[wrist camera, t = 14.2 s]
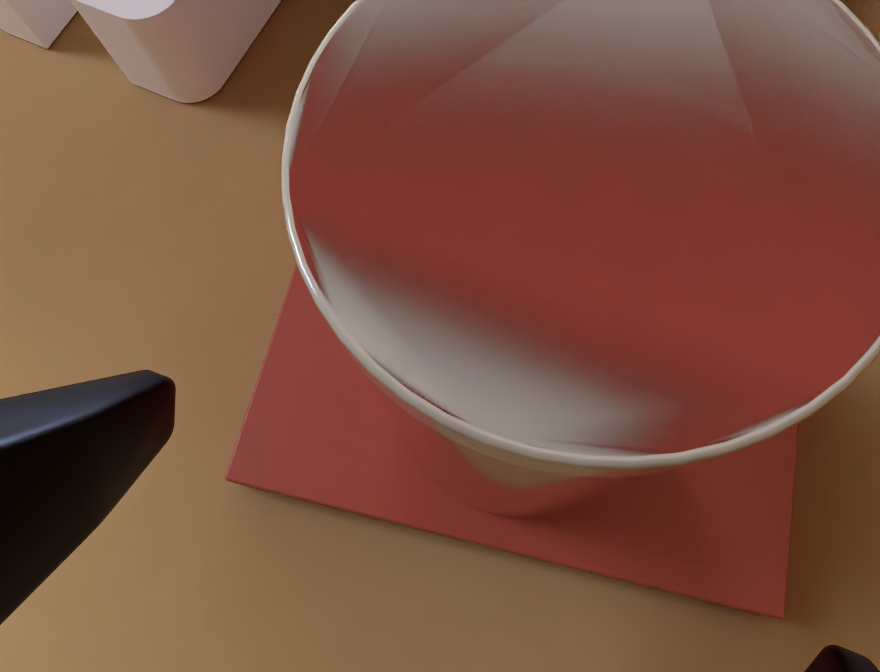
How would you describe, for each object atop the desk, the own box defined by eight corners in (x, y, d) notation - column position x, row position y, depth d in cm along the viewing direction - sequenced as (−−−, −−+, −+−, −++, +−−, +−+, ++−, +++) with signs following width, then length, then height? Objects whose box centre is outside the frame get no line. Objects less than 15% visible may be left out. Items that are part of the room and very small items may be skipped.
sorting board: (766, 616, 16) (786, 620, 15) (236, 483, 18) (222, 479, 17) (828, -138, 24) (843, -166, 23) (453, -180, 25) (453, -209, 24)
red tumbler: (694, 455, 16) (1091, 289, 6) (458, 564, 16) (428, 597, 5) (575, 243, 18) (710, -166, 8) (362, 334, 18) (200, 27, 7)
